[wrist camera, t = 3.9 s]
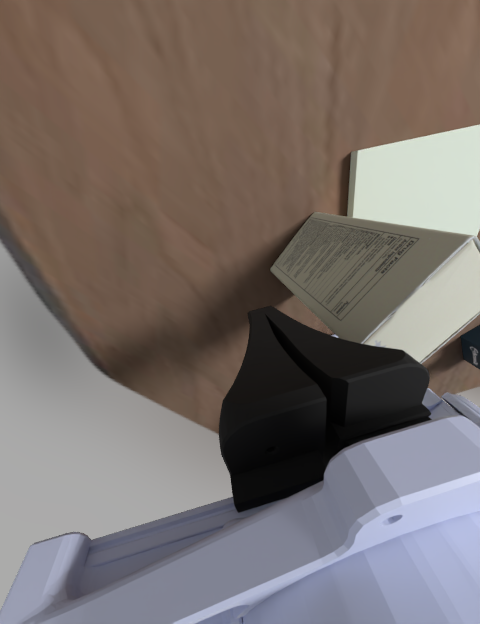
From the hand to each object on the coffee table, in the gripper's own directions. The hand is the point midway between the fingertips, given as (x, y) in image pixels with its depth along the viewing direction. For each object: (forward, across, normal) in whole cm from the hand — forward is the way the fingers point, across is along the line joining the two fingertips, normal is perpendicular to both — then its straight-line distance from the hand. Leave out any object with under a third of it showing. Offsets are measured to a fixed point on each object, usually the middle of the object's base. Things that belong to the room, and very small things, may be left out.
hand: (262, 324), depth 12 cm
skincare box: (+9, -7, 0) cm, 11 cm away
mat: (+9, -17, 0) cm, 19 cm away
